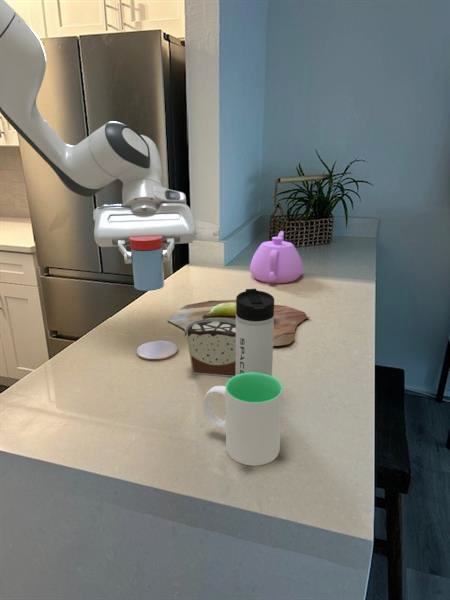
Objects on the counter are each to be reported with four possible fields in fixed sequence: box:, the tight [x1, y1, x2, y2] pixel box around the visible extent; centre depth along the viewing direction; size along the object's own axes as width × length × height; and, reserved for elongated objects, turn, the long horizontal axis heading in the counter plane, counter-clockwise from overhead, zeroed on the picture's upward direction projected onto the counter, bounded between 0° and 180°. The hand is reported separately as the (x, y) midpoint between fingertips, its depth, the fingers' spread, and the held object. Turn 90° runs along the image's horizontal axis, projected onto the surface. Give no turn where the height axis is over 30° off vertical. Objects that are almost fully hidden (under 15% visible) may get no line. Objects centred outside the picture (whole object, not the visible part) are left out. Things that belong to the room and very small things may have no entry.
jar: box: [130, 246, 165, 292], centre depth 85 cm, size 6×6×10 cm
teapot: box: [249, 230, 304, 284], centre depth 145 cm, size 25×18×14 cm
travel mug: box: [235, 288, 275, 377], centre depth 73 cm, size 6×7×20 cm
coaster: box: [136, 340, 179, 362], centre depth 95 cm, size 9×9×1 cm
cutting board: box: [167, 299, 311, 347], centre depth 110 cm, size 35×27×4 cm
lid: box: [129, 235, 164, 250], centre depth 84 cm, size 6×6×2 cm
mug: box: [203, 372, 283, 467], centre depth 64 cm, size 12×8×10 cm, turn 67°
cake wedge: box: [183, 318, 236, 378], centre depth 86 cm, size 12×6×10 cm, turn 80°
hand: (147, 261), depth 85 cm, fingers closed on jar, 6 cm apart
